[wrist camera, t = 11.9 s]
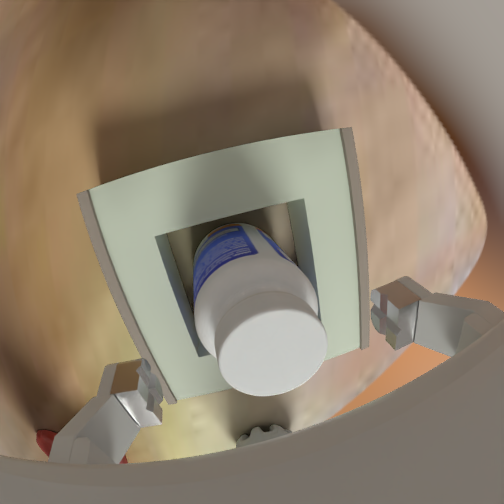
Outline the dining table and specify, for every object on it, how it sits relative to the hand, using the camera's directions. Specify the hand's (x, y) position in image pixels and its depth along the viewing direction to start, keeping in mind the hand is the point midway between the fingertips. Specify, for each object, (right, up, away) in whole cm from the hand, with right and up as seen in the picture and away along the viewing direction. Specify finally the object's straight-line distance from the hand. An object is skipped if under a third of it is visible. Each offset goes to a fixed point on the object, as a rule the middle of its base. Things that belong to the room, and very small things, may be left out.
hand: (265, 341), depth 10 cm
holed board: (-1, +2, +9) cm, 10 cm away
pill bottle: (-1, +2, +9) cm, 10 cm away
